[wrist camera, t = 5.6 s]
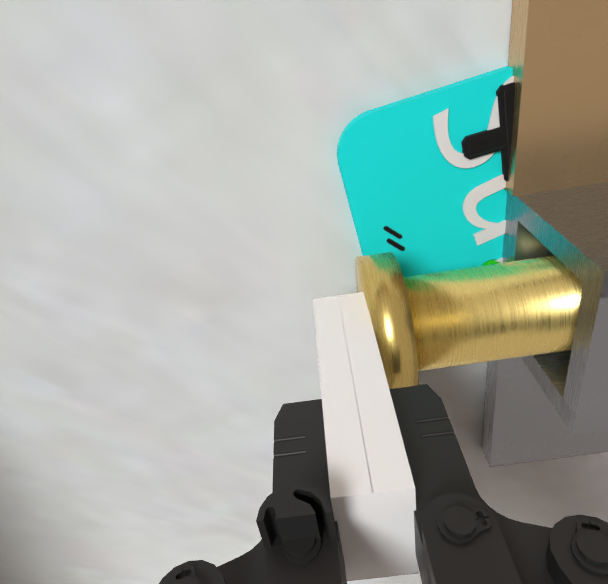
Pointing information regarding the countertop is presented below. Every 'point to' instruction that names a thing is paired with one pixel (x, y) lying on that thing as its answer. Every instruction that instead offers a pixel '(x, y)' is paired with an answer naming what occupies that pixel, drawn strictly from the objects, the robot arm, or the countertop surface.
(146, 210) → the countertop surface
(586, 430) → the sliding bolt latch
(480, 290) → the pin
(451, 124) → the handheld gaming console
